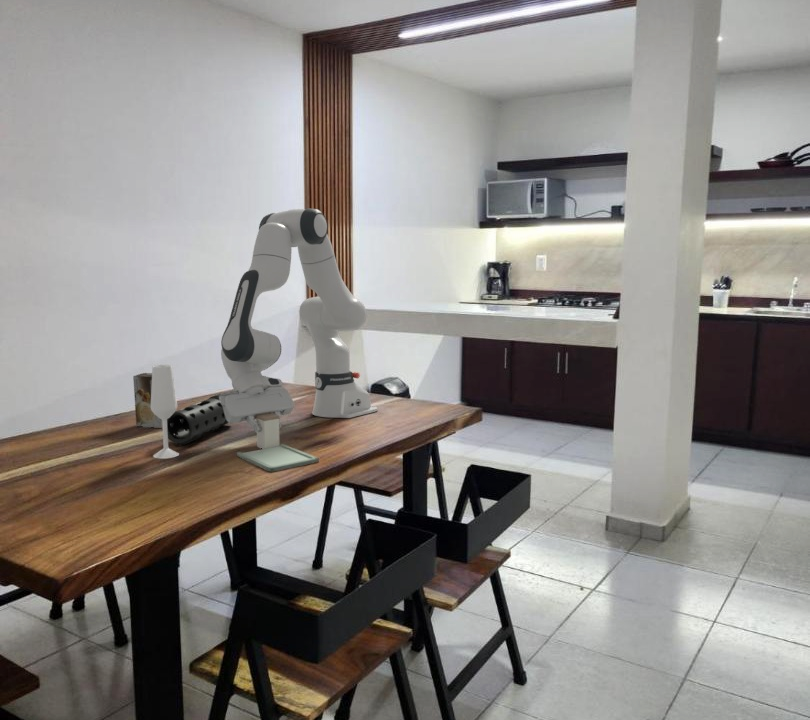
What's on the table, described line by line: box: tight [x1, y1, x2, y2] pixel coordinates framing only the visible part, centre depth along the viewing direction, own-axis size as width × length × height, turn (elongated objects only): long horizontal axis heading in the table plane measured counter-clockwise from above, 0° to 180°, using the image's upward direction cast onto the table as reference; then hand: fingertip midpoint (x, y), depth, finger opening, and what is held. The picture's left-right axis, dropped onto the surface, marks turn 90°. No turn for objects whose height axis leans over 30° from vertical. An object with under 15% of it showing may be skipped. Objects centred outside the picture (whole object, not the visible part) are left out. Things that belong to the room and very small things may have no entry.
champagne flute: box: [151, 364, 180, 460], centre depth 191 cm, size 7×7×24 cm
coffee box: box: [133, 372, 163, 429], centre depth 225 cm, size 9×6×16 cm
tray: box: [236, 443, 320, 473], centre depth 189 cm, size 14×18×1 cm
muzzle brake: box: [167, 393, 230, 447], centre depth 214 cm, size 10×28×10 cm, turn 166°
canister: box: [255, 413, 280, 450], centre depth 200 cm, size 5×5×9 cm
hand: (269, 429), depth 200 cm, fingers closed on canister, 4 cm apart
